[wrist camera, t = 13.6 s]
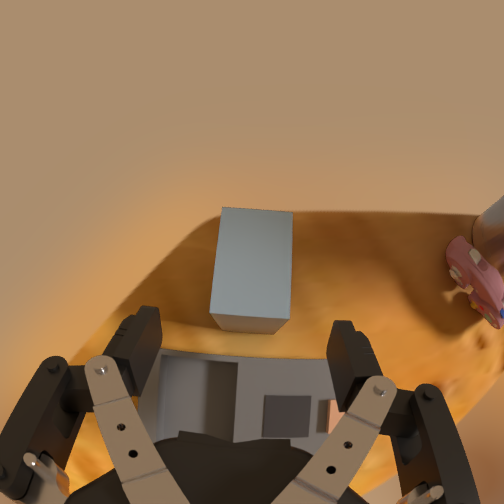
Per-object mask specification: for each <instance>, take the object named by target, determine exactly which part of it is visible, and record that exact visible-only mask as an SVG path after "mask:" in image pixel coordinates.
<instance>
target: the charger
mask: <svg viewBox="0 0 504 504" xmlns="http://www.w3.org/2000/svg"><path fill="white" fill-rule="evenodd" d="M292 226H293V212H284V211H272V210H259V209H245V208H229V207H222V212H221V220H220V227H219V235H218V243H217V251H216V259H215V267H214V276H213V284H212V293H211V302H210V311H209V313H210V314H211V316H212V317H213V318H214V320H215V321H216V323H217V324H218V325H219V327H220V328H221V329H222V331H233V332H245V333H259V334H275V333H276V332H277V331H278V330H279V329H280V328H281V327H282V326H283V325H284V324H285V323H286V322H287V321H288V320H289V319H290V298H291V270H292Z"/></svg>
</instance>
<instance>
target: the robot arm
mask: <svg viewBox="0 0 504 504" xmlns="http://www.w3.org/2000/svg"><path fill="white" fill-rule="evenodd" d="M472 233H473V245H474V248H475V249H476V250H477V251H478V252H479V253H480V254H481V255H482V256H483V258H484V259H485V260H486V261H487V262H488V263H489V264H490V265H492V266H493V267H494V268H495V269H496V270H497V271H498V272H499V273H500V276H501V278H502V280H503V284H504V196H502V197H501V198H500V199H499V200H498V201H497V202H495V203H494V204H493V205H492V206H491V207H490V208H488V209H487V210H486V211H485V212H483V213H482V214H481V215H480V216H479V217H478V218H477V219H476V220H475V223H474V225H473V231H472ZM161 344H162V328H161V321H160V314H159V309H158V308H157V307H150V306H141V307H140V309H139V311H138V312H137V314H136V315H130V316H128V317H127V318H126V319H124V320H123V321H122V323H121V324H120V326H119V328H118V329H117V331H116V332H115V335H114V336H113V337H112V339H111V341H110V342H109V344H108V346H107V347H106V349H105V351H104V352H103V354H102V355H100V356H96V357H93V358H91V359H90V360H89V361H88V362H87V363H86V365H81V366H68V363H67V361H66V360H65V359H64V358H63V357H60V356H52V357H49V358H47V359H45V360H44V361H43V362H42V363H41V365H40V366H39V368H38V369H37V371H36V372H35V374H34V376H33V377H32V379H31V381H30V382H29V384H28V386H27V387H26V389H25V391H24V392H23V394H22V396H21V398H20V399H19V401H18V403H17V405H16V406H15V408H14V410H13V412H12V413H11V415H10V417H9V419H8V421H7V423H6V425H5V427H4V428H3V430H2V433H1V434H0V492H2V493H3V494H4V495H5V496H6V497H7V498H9V499H10V500H12V501H13V502H15V503H16V504H369V503H367V502H366V501H365V500H364V499H363V498H362V497H361V496H359V495H358V494H357V493H356V492H355V491H353V490H352V489H351V488H350V487H349V486H348V485H349V483H350V482H351V480H352V479H353V477H354V476H355V474H356V472H357V471H358V469H359V468H360V466H361V464H362V463H363V461H364V459H365V458H366V456H367V454H368V452H369V451H370V449H371V447H372V445H373V443H374V441H375V440H376V438H377V436H378V434H382V435H389V436H390V438H391V442H392V447H393V451H394V456H395V461H396V466H397V471H398V476H399V481H400V486H401V492H402V498H401V499H400V500H399V501H398V502H397V503H396V504H480V500H479V496H478V492H477V488H476V485H475V482H474V479H473V475H472V472H471V468H470V465H469V462H468V459H467V456H466V453H465V450H464V448H463V445H462V442H461V439H460V437H459V434H458V431H457V429H456V426H455V423H454V421H453V418H452V416H451V413H450V411H449V409H448V406H447V404H446V401H445V399H444V397H443V395H442V393H441V391H440V390H439V389H438V388H437V387H436V386H434V385H431V384H421V385H419V386H418V387H417V388H416V389H415V391H408V390H402V389H398V388H396V385H395V384H394V382H393V381H392V380H390V379H389V378H387V377H384V376H383V374H382V371H381V369H380V366H379V364H378V361H377V359H376V356H375V354H374V352H373V349H372V348H371V344H370V342H369V340H368V338H367V337H366V336H365V335H364V334H363V333H362V332H361V331H355V329H354V326H353V324H352V321H346V320H335V321H334V323H333V326H332V330H331V334H330V338H329V341H328V345H327V352H326V355H327V361H328V365H329V370H330V374H331V379H332V383H333V388H334V392H335V397H336V401H337V406H338V411H339V412H345V413H344V415H343V416H342V418H341V419H340V420H339V422H338V423H337V425H336V426H335V428H334V429H333V430H332V432H331V433H330V435H329V436H328V437H327V439H326V440H325V441H324V443H323V444H322V445H321V447H320V448H319V449H318V451H317V452H316V453H315V455H312V454H311V453H309V452H307V451H305V450H302V449H300V448H297V447H293V446H291V441H290V439H257V440H251V441H244V442H237V443H233V442H229V441H226V440H223V439H220V438H216V437H213V436H210V435H207V434H202V433H195V432H188V431H181V430H179V433H178V437H173V438H167V439H163V440H160V441H157V442H155V443H152V441H151V439H150V437H149V435H148V433H147V431H146V429H145V427H144V425H143V423H142V421H141V419H140V417H139V415H138V413H137V410H136V408H135V406H134V404H133V402H132V400H131V397H132V395H133V396H137V397H141V395H142V392H143V389H144V387H145V384H146V382H147V379H148V377H149V374H150V372H151V369H152V367H153V364H154V362H155V359H156V357H157V354H158V352H159V349H160V347H161ZM86 412H94V413H95V416H96V419H97V422H98V425H99V428H100V431H101V434H102V437H103V439H104V442H105V445H106V447H107V450H108V452H109V455H110V457H111V460H112V462H113V464H114V467H115V468H114V469H112V470H110V471H109V472H107V473H106V474H104V475H102V476H101V477H99V478H97V479H95V480H94V481H92V482H90V483H88V484H87V485H85V486H83V487H81V488H80V489H78V490H76V491H74V492H73V493H72V494H69V478H68V476H67V474H66V473H65V472H64V470H65V467H66V464H67V461H68V458H69V456H70V453H71V450H72V447H73V445H74V442H75V439H76V437H77V434H78V432H79V429H80V427H81V424H82V422H83V419H84V417H85V414H86Z"/></svg>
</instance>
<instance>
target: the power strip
mask: <svg viewBox="0 0 504 504" xmlns="http://www.w3.org/2000/svg"><path fill="white" fill-rule="evenodd" d="M344 413H345V412H339V411H338V406H337V401H336V397H335V392H334V388H333V383H332V379H331V374H330V370H329V365H328V361H327V359H274V358H253V357H238V356H225V355H214V354H203V353H194V352H185V351H177V350H169V349H162V348H160V349H159V352H158V354H157V357H156V359H155V362H154V364H153V367H152V369H151V372H150V374H149V377H148V379H147V382H146V384H145V387H144V389H143V392H142V395H141V397H138V415H139V417H140V419H141V421H142V423H143V425H144V427H145V429H146V431H147V433H148V435H149V437H150V439H151V441H152V443H155V442H157V441H160V440H163V439H167V438H173V437H178V433H179V430H181V431H188V432H195V433H202V434H207V435H210V436H213V437H216V438H220V439H223V440H226V441H229V442H233V443H237V442H244V441H251V440H257V439H290V441H291V446H293V447H297V448H300V449H302V450H305V451H307V452H309V453H311V454H312V455H315V453H316V452H317V451H318V449H319V448H320V447H321V445H322V444H323V443H324V441H325V440H326V439H327V437H328V436H329V435H330V433H331V432H332V430H333V429H334V428H335V426H336V425H337V423H338V422H339V420H340V419H341V418H342V416H343V415H344Z"/></svg>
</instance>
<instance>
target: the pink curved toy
mask: <svg viewBox="0 0 504 504" xmlns="http://www.w3.org/2000/svg"><path fill="white" fill-rule="evenodd" d="M446 261H447V263H448V265H449V267H450V270H449V272H450V275H451V277H452V278H453V279H454V280H455V282H456V283H457V284H458V285H459V286H460V287H461V288H463V289H465V288H466V287H467V286H468V285H469V284H471V286H472V287H473V288H474V290H473V291H472V292H471V294H470V295H469V296H468V300H469V302H470V303H471V304H470V305H471V307H472V308H473V309H476V310H477V311H478V312H479V313H481V314H482V315H483V316H484V318H485V319H486V320H487V321H488V322H489V323H490V324H491V325H492V326H493V327H494V328H496V329H500V328H501V327H502V326H503V324H504V284H503V280H502V278H501V276H500V273H499V272H498V271H497V270H496V269H495V268H494V267H493V266H492V265H490V264H489V263H488V262H487V261H486V260H485V259H484V258H483V256H482V255H481V254H480V253H479V252H478V251H477V250H476V249H475V248H474V247H473V246H472V245H471V244H469V243H467V242H466V239H465V238H464V237H463V236H457V237H456V238H454V239H453V240H452V241H451V242H450V243H449V245H448V247H447V249H446Z"/></svg>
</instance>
